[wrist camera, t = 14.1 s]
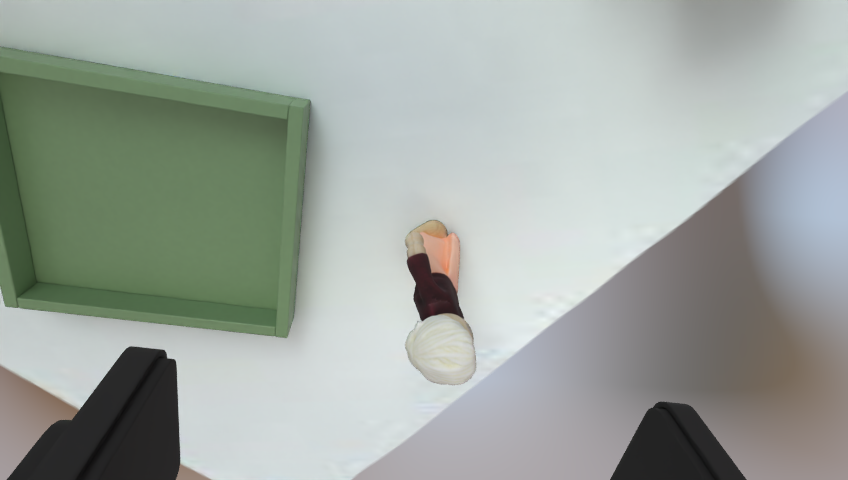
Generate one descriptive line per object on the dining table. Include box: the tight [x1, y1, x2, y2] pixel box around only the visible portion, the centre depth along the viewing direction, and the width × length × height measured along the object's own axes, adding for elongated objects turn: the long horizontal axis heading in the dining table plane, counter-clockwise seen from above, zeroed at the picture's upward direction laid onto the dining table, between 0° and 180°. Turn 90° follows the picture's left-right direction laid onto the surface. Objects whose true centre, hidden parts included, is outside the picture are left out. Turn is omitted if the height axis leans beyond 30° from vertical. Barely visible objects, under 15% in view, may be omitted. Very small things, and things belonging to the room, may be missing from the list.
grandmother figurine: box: [405, 220, 476, 385], centre depth 27 cm, size 8×4×13 cm, turn 30°
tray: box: [0, 47, 310, 338], centre depth 29 cm, size 18×16×2 cm
